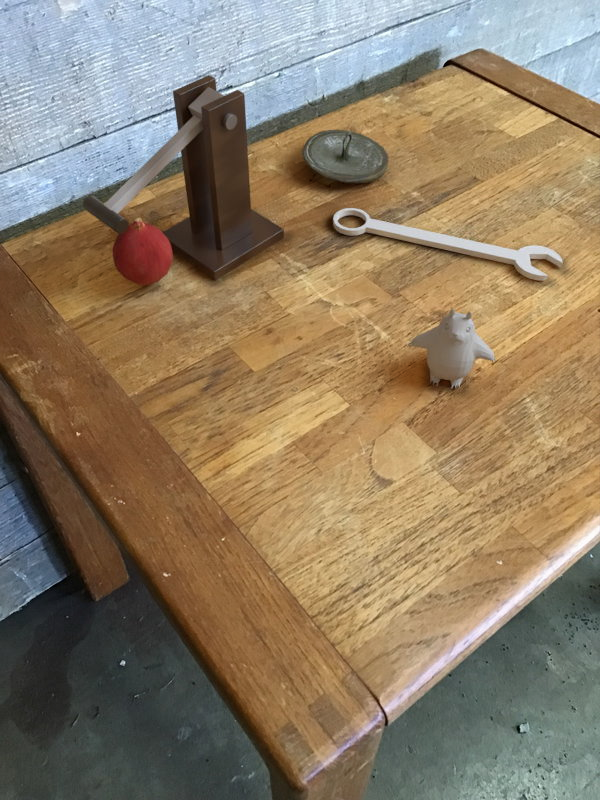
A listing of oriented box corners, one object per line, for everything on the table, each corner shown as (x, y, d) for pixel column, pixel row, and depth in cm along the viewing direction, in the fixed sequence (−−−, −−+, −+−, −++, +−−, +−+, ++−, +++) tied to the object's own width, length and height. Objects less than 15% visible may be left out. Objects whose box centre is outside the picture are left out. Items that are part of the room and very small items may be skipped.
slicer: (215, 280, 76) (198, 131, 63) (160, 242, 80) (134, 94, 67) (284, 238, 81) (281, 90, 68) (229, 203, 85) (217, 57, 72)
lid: (298, 159, 93) (289, 126, 89) (372, 130, 93) (366, 96, 89) (323, 210, 87) (314, 177, 83) (402, 180, 87) (396, 145, 83)
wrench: (557, 284, 76) (563, 256, 78) (559, 279, 75) (565, 251, 78) (326, 232, 81) (340, 207, 84) (327, 227, 80) (340, 202, 83)
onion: (112, 298, 74) (96, 234, 68) (129, 262, 78) (115, 198, 72) (168, 305, 74) (156, 240, 67) (183, 268, 77) (173, 203, 71)
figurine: (399, 383, 67) (409, 321, 61) (409, 338, 71) (419, 276, 65) (488, 399, 66) (507, 338, 60) (493, 353, 69) (512, 291, 63)
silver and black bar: (122, 240, 66) (109, 223, 64) (90, 216, 69) (77, 199, 66) (242, 120, 69) (234, 100, 67) (207, 100, 71) (198, 81, 69)
